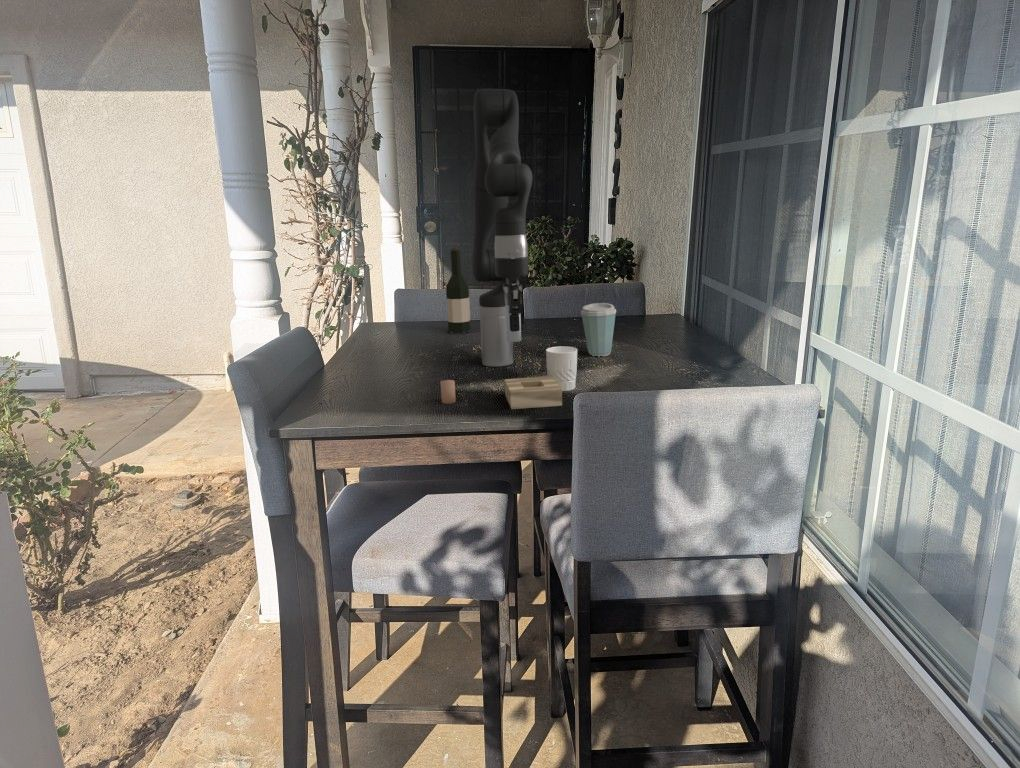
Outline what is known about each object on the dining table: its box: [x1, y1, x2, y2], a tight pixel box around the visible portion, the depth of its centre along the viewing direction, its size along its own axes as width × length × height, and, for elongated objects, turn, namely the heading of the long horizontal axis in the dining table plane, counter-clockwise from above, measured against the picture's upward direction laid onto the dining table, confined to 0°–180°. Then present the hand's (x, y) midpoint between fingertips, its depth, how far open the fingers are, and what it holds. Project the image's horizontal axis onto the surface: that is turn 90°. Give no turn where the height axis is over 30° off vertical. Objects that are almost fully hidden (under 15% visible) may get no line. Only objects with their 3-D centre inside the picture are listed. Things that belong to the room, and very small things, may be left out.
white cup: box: [545, 345, 578, 392], centre depth 179 cm, size 8×8×10 cm
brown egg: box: [440, 379, 457, 405], centre depth 172 cm, size 3×3×5 cm
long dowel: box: [505, 298, 522, 343], centre depth 166 cm, size 3×3×10 cm
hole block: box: [504, 376, 563, 410], centre depth 171 cm, size 12×12×4 cm
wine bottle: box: [445, 247, 472, 333], centre depth 254 cm, size 8×8×30 cm
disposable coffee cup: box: [580, 302, 617, 358], centre depth 213 cm, size 11×11×15 cm
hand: (513, 329), depth 167 cm, fingers closed on long dowel, 3 cm apart
